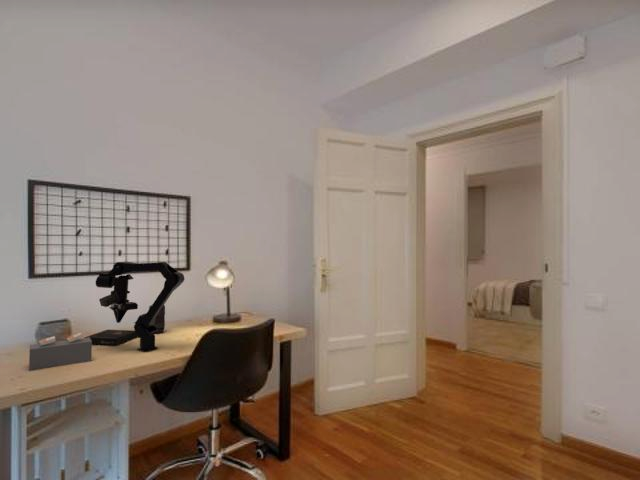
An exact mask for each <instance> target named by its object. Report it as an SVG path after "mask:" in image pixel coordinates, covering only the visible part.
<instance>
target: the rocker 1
mask: <svg viewBox="0 0 640 480" xmlns="http://www.w3.org/2000/svg"><path fill="white" fill-rule="evenodd" d="M51 342H57V340H56V336H55V335H53V336H50V337H47V338H43V339H40V340H39V342H38V343H39V344H40V346H42V345H45V344H48V343H51Z"/></svg>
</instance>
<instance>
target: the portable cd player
mask: <svg viewBox="0 0 640 480" xmlns="http://www.w3.org/2000/svg"><path fill="white" fill-rule="evenodd" d="M89 337H90V339H91V341H92V346H98V345H100V346H101V347H102V346H103V347H118V346H121V345H122V344H125V343H128V342H130V341H132V339H133V340H135V339H137V338H138V336H137V333H136V332H135V330H132V329H131V330H130V329H129V330H127V329H106V330H102V331H98V332H95V333H93V334H91V335H87V336H83V338H89ZM120 344H121V345H120Z"/></svg>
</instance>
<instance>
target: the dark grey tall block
mask: <svg viewBox="0 0 640 480" xmlns="http://www.w3.org/2000/svg"><path fill="white" fill-rule="evenodd" d="M151 306H152V305H149V306H148V310H149V309H150V307H151ZM165 315H166V306H165V304H164V305H163V307H162V308H161V310H160V311H159V313H158V314H157V316H156V319H155V323H154V326H155V327H156V328H157V329H158V332H157V334H156V335H160V334H164V330H165V326H166V323H165V321H166V320H165V318H166V317H165Z"/></svg>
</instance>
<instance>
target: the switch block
mask: <svg viewBox="0 0 640 480" xmlns="http://www.w3.org/2000/svg"><path fill="white" fill-rule="evenodd" d="M92 350H93V345H92V341H91V339H90V337H89V338H84V337H81V338H79V339H77V340H74V341H72V342H70V343H69V342H68V339H67V340H58V341H57V340H56V341H54V342H51V343H48V344H45V345H42V346H40V343H33V344H29V358H28V359H29V360H28V361H29V362H28V363H29V364H28V365H29V366H28V372H29V371H36V370H37V371H38V370H42V369H48V368H54V367H61V366H67V365H73V364H74V365H75V364H80V363H85V362H92Z"/></svg>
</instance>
